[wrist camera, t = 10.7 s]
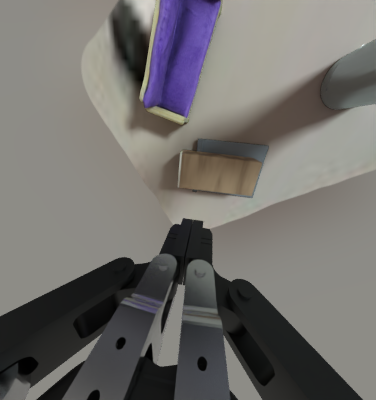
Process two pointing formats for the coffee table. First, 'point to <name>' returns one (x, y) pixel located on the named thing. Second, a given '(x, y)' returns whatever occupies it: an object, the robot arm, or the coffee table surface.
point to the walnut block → (218, 172)
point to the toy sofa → (177, 55)
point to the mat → (233, 153)
